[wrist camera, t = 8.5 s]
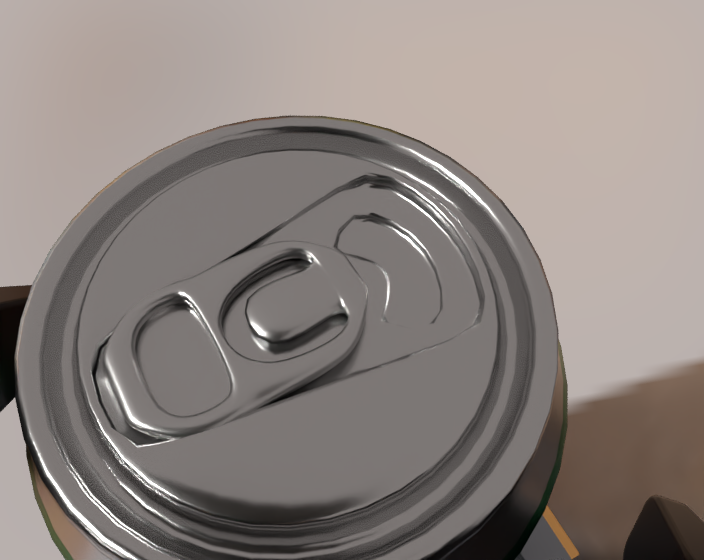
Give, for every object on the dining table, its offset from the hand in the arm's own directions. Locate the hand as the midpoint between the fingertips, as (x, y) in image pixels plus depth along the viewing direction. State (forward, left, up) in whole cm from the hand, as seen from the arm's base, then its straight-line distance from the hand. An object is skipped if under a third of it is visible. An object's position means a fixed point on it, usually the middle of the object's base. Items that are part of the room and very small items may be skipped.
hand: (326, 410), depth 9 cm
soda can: (-1, -1, -8) cm, 8 cm away
